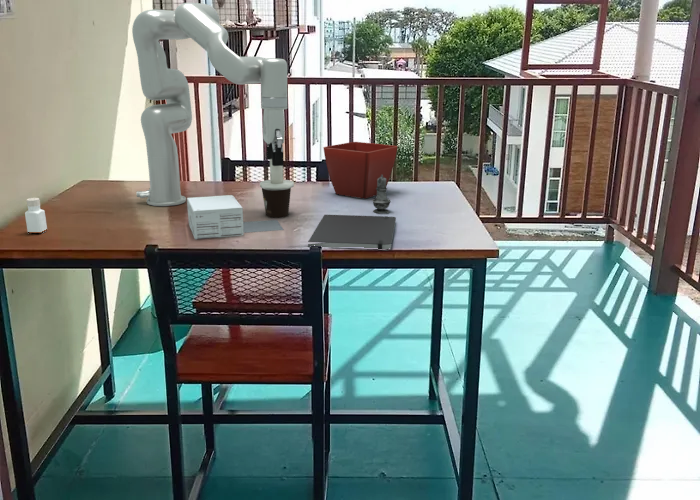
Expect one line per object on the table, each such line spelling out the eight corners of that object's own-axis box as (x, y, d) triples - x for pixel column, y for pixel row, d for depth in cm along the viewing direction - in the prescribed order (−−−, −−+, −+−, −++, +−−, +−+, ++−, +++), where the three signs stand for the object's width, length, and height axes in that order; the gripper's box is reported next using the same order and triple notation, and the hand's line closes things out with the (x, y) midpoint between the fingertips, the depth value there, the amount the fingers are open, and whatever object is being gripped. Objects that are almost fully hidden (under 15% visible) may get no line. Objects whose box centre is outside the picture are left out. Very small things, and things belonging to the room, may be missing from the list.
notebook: (324, 221, 195) (308, 249, 168) (324, 214, 194) (307, 240, 167) (395, 223, 192) (391, 252, 166) (396, 216, 192) (391, 243, 165)
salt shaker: (34, 230, 181) (29, 197, 178) (48, 230, 181) (43, 197, 178) (27, 234, 177) (21, 200, 174) (41, 234, 177) (36, 200, 174)
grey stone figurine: (394, 211, 204) (395, 174, 200) (382, 215, 200) (383, 176, 196) (380, 208, 208) (380, 171, 204) (368, 211, 204) (368, 174, 200)
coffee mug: (290, 223, 189) (289, 190, 186) (260, 223, 190) (259, 190, 187) (294, 213, 201) (293, 182, 198) (266, 213, 201) (265, 181, 198)
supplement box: (245, 241, 173) (243, 207, 170) (195, 245, 169) (192, 211, 166) (234, 225, 188) (233, 193, 186) (188, 228, 184) (186, 196, 181)
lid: (262, 190, 186) (261, 162, 184) (257, 183, 195) (256, 157, 193) (296, 188, 189) (296, 161, 186) (290, 181, 198) (289, 155, 196)
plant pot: (353, 186, 241) (354, 140, 236) (397, 192, 230) (398, 145, 225) (322, 195, 226) (321, 147, 221) (367, 202, 215) (367, 152, 210)
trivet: (243, 237, 175) (243, 232, 175) (239, 227, 185) (238, 222, 185) (283, 235, 178) (283, 229, 178) (277, 224, 188) (276, 219, 188)
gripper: (256, 100, 192) (257, 157, 197) (266, 106, 176) (266, 168, 181) (281, 100, 194) (282, 157, 199) (293, 106, 178) (293, 167, 183)
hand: (274, 162), depth 190 cm, fingers open, 9 cm apart
